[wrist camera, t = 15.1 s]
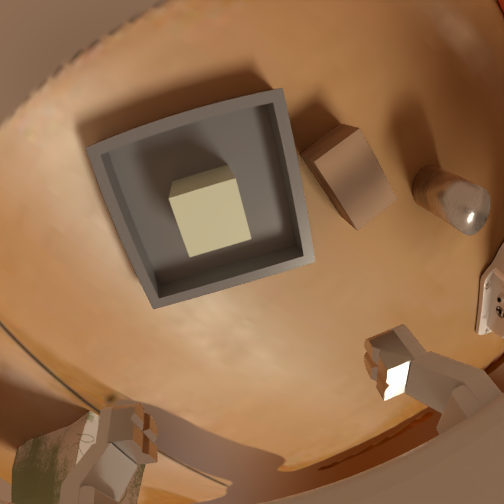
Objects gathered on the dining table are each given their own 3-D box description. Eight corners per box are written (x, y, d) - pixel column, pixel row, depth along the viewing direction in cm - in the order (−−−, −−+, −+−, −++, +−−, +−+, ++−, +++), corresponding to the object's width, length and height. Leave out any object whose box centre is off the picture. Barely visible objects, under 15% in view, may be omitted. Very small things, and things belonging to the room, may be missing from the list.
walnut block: (376, 187, 31) (397, 199, 28) (340, 215, 32) (357, 231, 29) (339, 123, 28) (359, 128, 24) (298, 153, 28) (313, 161, 25)
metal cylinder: (443, 201, 33) (488, 228, 26) (412, 211, 33) (457, 241, 26) (443, 162, 31) (492, 183, 24) (411, 169, 31) (460, 192, 24)
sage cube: (228, 164, 27) (235, 178, 23) (241, 216, 29) (251, 239, 25) (172, 181, 27) (168, 198, 22) (189, 231, 29) (189, 257, 25)
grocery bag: (65, 474, 50) (59, 559, 29) (14, 446, 43) (-2, 535, 23) (154, 444, 45) (160, 566, 25) (88, 406, 39) (72, 548, 19)
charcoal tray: (305, 248, 33) (315, 262, 30) (155, 291, 32) (153, 309, 29) (273, 89, 25) (282, 88, 22) (95, 142, 24) (85, 147, 22)
